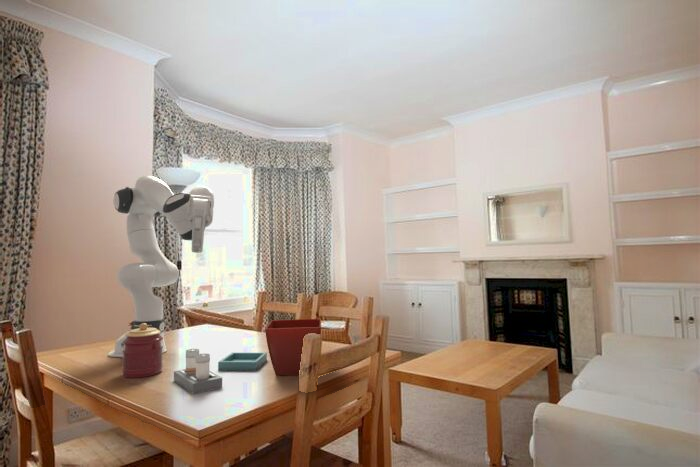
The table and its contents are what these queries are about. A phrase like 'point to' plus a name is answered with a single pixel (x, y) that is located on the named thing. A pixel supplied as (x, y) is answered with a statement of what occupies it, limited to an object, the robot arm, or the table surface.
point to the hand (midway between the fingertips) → (196, 240)
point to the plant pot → (288, 343)
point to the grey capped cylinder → (191, 360)
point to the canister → (142, 352)
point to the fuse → (202, 366)
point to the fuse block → (194, 385)
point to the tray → (242, 361)
